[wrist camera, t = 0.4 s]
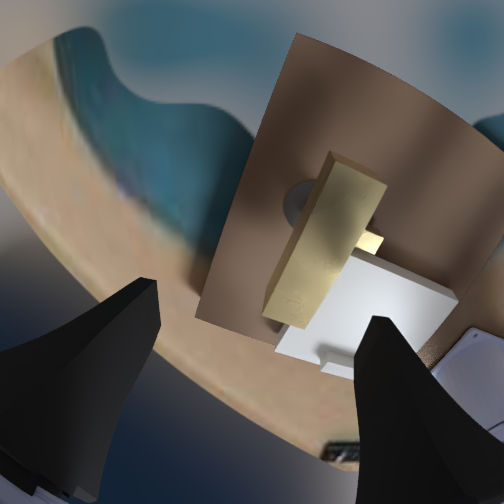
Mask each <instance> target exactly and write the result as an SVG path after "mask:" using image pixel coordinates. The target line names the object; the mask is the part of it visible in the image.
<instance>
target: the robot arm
mask: <svg viewBox="0 0 504 504" xmlns="http://www.w3.org/2000/svg"><path fill="white" fill-rule="evenodd" d="M160 327H161V319H160V311H159V301H158V291H157V280H152V279H147V278H143V277H140V278H138V279H136V280H135V281H133V282H132V283H130V284H128V285H127V286H125V287H124V288H122V289H121V290H119V291H118V292H116V293H115V294H113V295H112V296H110V297H109V298H107V299H106V300H104V301H103V302H101V303H100V304H98V305H97V306H95V307H94V308H92V309H90V310H89V311H87V312H85V313H84V314H82V315H80V316H79V317H77V318H75V319H74V320H72V321H71V322H69V323H67V324H65V325H63V326H61V327H59V328H58V329H55V330H53V331H51V332H49V333H47V334H45V335H43V336H41V337H39V338H36V339H34V340H31V341H29V342H26V343H24V344H21V345H19V346H16V347H13V348H10V349H7V350H4V351H1V352H0V504H68V503H67V502H65V501H63V500H61V499H60V497H61V495H64V496H66V497H68V498H70V499H71V498H72V497H73V496H75V497H77V498H79V499H81V500H83V501H85V502H87V503H91V502H94V501H96V500H97V499H98V493H99V487H100V482H101V477H102V472H103V468H104V464H105V460H106V457H107V453H108V449H109V446H110V443H111V439H112V436H113V433H114V429H115V427H116V424H117V421H118V418H119V415H120V413H121V410H122V407H123V405H124V403H125V401H126V398H127V396H128V394H129V393H130V391H131V389H132V387H133V385H134V383H135V381H136V379H137V377H138V375H139V373H140V372H141V370H142V368H143V366H144V364H145V362H146V360H147V358H148V356H149V354H150V352H151V350H152V348H153V346H154V343H155V341H156V338H157V335H158V332H159V330H160ZM354 390H355V399H356V408H357V416H358V426H359V436H360V462H359V477H358V488H357V497H356V503H355V504H504V339H502V338H499V337H497V336H494V335H492V334H489V333H487V332H484V331H482V330H479V329H477V328H474V327H473V328H470V329H469V330H468V331H467V332H466V333H465V334H464V335H463V336H462V338H461V339H460V340H459V341H458V342H457V343H456V344H455V346H454V347H453V348H452V349H451V350H450V351H449V352H448V353H447V354H446V355H445V356H444V357H443V358H442V360H441V361H440V362H439V363H438V364H437V365H436V366H435V367H434V368H433V369H432V370H431V371H429V370H428V368H427V367H426V366H425V364H424V363H423V362H422V361H421V359H420V358H419V357H418V355H417V354H416V352H415V351H414V350H413V348H412V347H411V346H410V344H409V343H408V342H407V340H406V339H405V337H404V336H403V335H402V333H401V332H400V331H399V329H398V328H397V327H396V325H395V324H394V323H393V322H392V320H391V319H390V318H389V317H384V316H375V315H372V317H371V320H370V322H369V324H368V327H367V329H366V331H365V333H364V336H363V338H362V340H361V342H360V344H359V346H358V349H357V351H356V353H355V355H354Z"/></svg>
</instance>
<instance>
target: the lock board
mask: <svg viewBox="0 0 504 504" xmlns="http://www.w3.org/2000/svg"><path fill="white" fill-rule="evenodd" d="M329 150H331V151H333V152H335V153H337V154H340V155H342V156H344V157H346V158H348V159H350V160H353V161H355V162H357V163H359V164H361V165H363V166H365V167H367V168H369V169H371V170H373V171H375V172H376V173H377V174H378V175H379V177H380V178H381V179H382V180H383V181H384V182H385V183H386V184H387V188H386V190H385V192H384V194H383V196H382V198H381V200H380V202H379V204H378V206H377V208H376V209H375V211H374V213H373V215H372V217H371V219H370V221H369V223H368V225H370V226H372V227H375V228H377V229H379V230H380V232H381V234H382V236H383V237H384V239H383V241H382V243H381V244H380V246H379V248H378V249H377V251H376V253H375V254H372V253H370V254H372V255H374V256H377V257H379V258H381V259H384V260H386V261H388V262H391V263H393V264H395V265H397V266H400V267H402V268H404V269H406V270H409V271H411V272H413V273H415V274H418V275H420V276H422V277H424V278H427V279H429V280H431V281H433V282H435V283H437V284H440V285H442V286H444V287H446V288H448V289H450V290H452V291H453V293H454V294H455V296H456V298H457V299H458V301H460V300H461V298H462V297H463V296H464V294H465V293H466V292H467V290H468V289H469V287H470V286H471V285H472V283H473V282H474V280H475V279H476V277H477V276H478V275H479V273H480V272H481V270H482V269H483V267H484V266H485V264H486V263H487V261H488V259H489V258H490V256H491V255H492V253H493V252H494V250H495V248H496V247H497V245H498V243H499V242H500V240H501V238H502V237H503V235H504V152H503V151H502V150H500V149H499V148H498V147H497V146H496V145H495V144H493V143H492V142H491V141H490V140H489V139H487V138H486V137H485V136H484V135H482V134H481V133H480V132H479V131H477V130H476V129H475V128H473V127H472V126H471V125H470V124H468V123H467V122H466V121H464V120H463V119H461V118H460V117H459V116H457V115H456V114H454V113H453V112H452V111H450V110H449V109H447V108H446V107H444V106H443V105H441V104H440V103H438V102H437V101H435V100H434V99H432V98H431V97H429V96H427V95H426V94H424V93H423V92H421V91H419V90H417V89H416V88H414V87H413V86H411V85H409V84H408V83H406V82H404V81H402V80H401V79H399V78H397V77H395V76H393V75H392V74H390V73H388V72H386V71H384V70H382V69H380V68H378V67H376V66H374V65H372V64H370V63H368V62H366V61H364V60H362V59H360V58H358V57H356V56H353V55H351V54H349V53H347V52H345V51H342V50H340V49H338V48H335V47H333V46H330V45H328V44H325V43H323V42H321V41H318V40H315V39H313V38H310V37H307V36H305V35H302V34H299V33H296V35H295V38H294V40H293V43H292V45H291V48H290V50H289V53H288V55H287V57H286V60H285V62H284V65H283V68H282V70H281V73H280V75H279V78H278V80H277V83H276V86H275V88H274V90H273V93H272V96H271V99H270V101H269V103H268V106H267V109H266V111H265V114H264V117H263V119H262V122H261V125H260V128H259V130H258V133H257V135H256V138H255V141H254V143H253V146H252V149H251V152H250V154H249V157H248V160H247V163H246V165H245V168H244V171H243V174H242V177H241V179H240V182H239V185H238V188H237V191H236V194H235V196H234V199H233V202H232V205H231V208H230V211H229V214H228V217H227V219H226V222H225V225H224V228H223V231H222V234H221V237H220V240H219V243H218V246H217V249H216V252H215V255H214V258H213V261H212V264H211V267H210V270H209V273H208V276H207V279H206V283H205V286H204V289H203V292H202V295H201V298H200V301H199V304H198V308H197V311H196V314H195V318H198V319H201V320H203V321H206V322H209V323H211V324H214V325H217V326H219V327H222V328H225V329H228V330H231V331H233V332H236V333H239V334H242V335H245V336H248V337H251V338H254V339H257V340H260V341H263V342H266V343H269V344H272V345H275V340H276V337H277V335H278V333H279V332H280V330H281V328H282V327H283V325H284V323H282V322H279V321H276V320H273V319H271V318H268V317H265V316H262V309H263V303H264V297H265V291H266V287H267V285H268V283H269V281H270V279H271V277H272V274H273V272H274V270H275V268H276V266H277V264H278V262H279V260H280V258H281V255H282V253H283V251H284V249H285V247H286V245H287V243H288V240H289V238H290V236H291V234H292V232H293V230H294V228H295V225H296V223H297V221H298V219H299V217H300V209H301V206H302V204H303V203H304V202H305V201H307V199H308V197H309V195H310V193H311V190H312V188H313V186H314V184H315V181H316V179H317V177H318V175H319V173H320V170H321V168H322V166H323V164H324V161H325V159H326V157H327V154H328V152H329ZM355 248H358V247H355ZM358 249H360V248H358ZM360 250H362V249H360ZM363 251H365V250H363ZM365 252H367V251H365ZM367 253H369V252H367Z"/></svg>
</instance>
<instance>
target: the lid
mask: <svg viewBox="0 0 504 504" xmlns="http://www.w3.org/2000/svg"><path fill="white" fill-rule="evenodd" d="M458 302H459V301H458V299H457V298H456V296H455V294H454V293H453V291H452V290H450V289H448V288H446V287H444V286H442V285H440V284H437V283H435V282H433V281H431V280H429V279H427V278H424V277H422V276H420V275H418V274H415V273H413V272H411V271H409V270H406V269H404V268H402V267H400V266H397V265H395V264H393V263H391V262H388V261H386V260H384V259H381V258H379V257H377V256H374V255H372V254H370V253H367V252H365V251H363V250H360V249H358V248H354V249H353V251H352V253H351V255H350V256H349V258H348V260H347V262H346V263H345V265H344V267H343V268H342V270H341V272H340V274H339V275H338V277H337V279H336V280H335V282H334V284H333V285H332V287H331V288H330V290H329V292H328V293H327V295H326V297H325V298H324V300H323V301H322V303H321V305H320V306H319V308H318V309H317V311H316V313H315V314H314V316H313V317H312V319H311V320H310V322H309V323H308V325H307V327H306V328H305V330H303V329H300V328H297V327H294V326H291V325H288V324H285V323H284V325H283V327H282V328H281V330H280V332H279V333H278V335H277V337H276V340H275V349H274V351H275V352H279V353H282V354H285V355H288V356H292V357H295V358H298V359H302V360H305V361H308V362H312V363H315V364H319V365H320V371H322V372H326V373H329V374H333V375H337V376H341V377H345V378H349V379H353V380H354V355H355V353H356V351H357V349H358V346H359V344H360V342H361V340H362V338H363V336H364V333H365V331H366V329H367V327H368V324H369V322H370V320H371V317H372V315H375V316H384V317H389V318H390V319H391V320H392V322H393V323H394V324H395V325H396V327H397V328H398V329H399V331H400V332H401V333H402V335H403V336H404V337H405V339H406V340H407V342H408V343H409V344H410V346H411V347H412V348H413V350H414V351H415V352H416V353H417V352H418V350H419V349H420V348H421V347H422V346H423V345H424V344H425V343H426V341H427V340H428V339H429V338H430V337H431V336H432V335H433V333H434V332H435V331H436V330H437V329H438V327H439V326H440V325H441V324H442V323H443V321H444V320H445V319H446V318H447V316H448V315H449V314H450V313H451V311H452V310H453V309H454V308H455V306H456V305H457V304H458Z"/></svg>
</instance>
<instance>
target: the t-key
mask: <svg viewBox="0 0 504 504" xmlns="http://www.w3.org/2000/svg"><path fill="white" fill-rule="evenodd" d="M386 188H387V184H386V183H385V182H384V181H383V180H382V179H381V178H380V177H379V175H378V174H377V173H376V172H375V171H373V170H371V169H369V168H367V167H365V166H363V165H361V164H359V163H357V162H355V161H353V160H350V159H348V158H346V157H344V156H342V155H340V154H337V153H335V152H333V151H331V150H329V152H328V154H327V157H326V159H325V161H324V164H323V166H322V168H321V170H320V173H319V175H318V177H317V179H316V181H315V184H314V186H313V188H312V190H311V193H310V195H309V197H308V199H307V201H305V202H304V203H303V204H302V206H301V209H300V217H299V219H298V221H297V223H296V225H295V228H294V230H293V232H292V234H291V236H290V238H289V240H288V243H287V245H286V247H285V249H284V251H283V253H282V255H281V258H280V260H279V262H278V264H277V266H276V268H275V270H274V272H273V274H272V277H271V279H270V281H269V283H268V285H267V287H266V291H265V297H264V303H263V309H262V316H265V317H268V318H271V319H273V320H276V321H279V322H282V323H285V324H288V325H291V326H294V327H297V328H300V329H303V330H305V328H306V327H307V325H308V323H309V322H310V320H311V319H312V317H313V316H314V314H315V313H316V311H317V309H318V308H319V306H320V305H321V303H322V301H323V300H324V298H325V297H326V295H327V293H328V292H329V290H330V288H331V287H332V285H333V284H334V282H335V280H336V279H337V277H338V275H339V274H340V272H341V270H342V268H343V267H344V265H345V263H346V262H347V260H348V258H349V256H350V255H351V253H352V251H353V249H354V248H355V247H358V248H360V249H362V250H365V251H367V252H369V253H372V254H375V253H376V251H377V249H378V248H379V246H380V244H381V243H382V241H383V239H384V237H383V236H382V234H381V232H380V230H379V229H377V228H375V227H372V226H370V225H368V223H369V221H370V219H371V217H372V215H373V213H374V211H375V209H376V208H377V206H378V204H379V202H380V200H381V198H382V196H383V194H384V192H385V190H386Z"/></svg>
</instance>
